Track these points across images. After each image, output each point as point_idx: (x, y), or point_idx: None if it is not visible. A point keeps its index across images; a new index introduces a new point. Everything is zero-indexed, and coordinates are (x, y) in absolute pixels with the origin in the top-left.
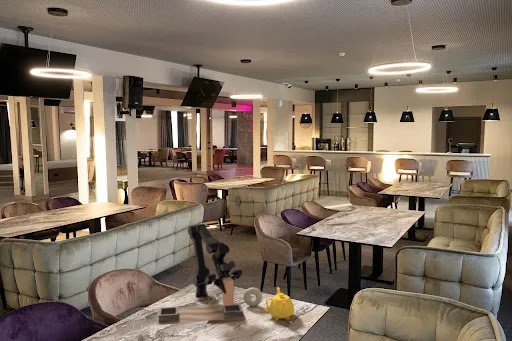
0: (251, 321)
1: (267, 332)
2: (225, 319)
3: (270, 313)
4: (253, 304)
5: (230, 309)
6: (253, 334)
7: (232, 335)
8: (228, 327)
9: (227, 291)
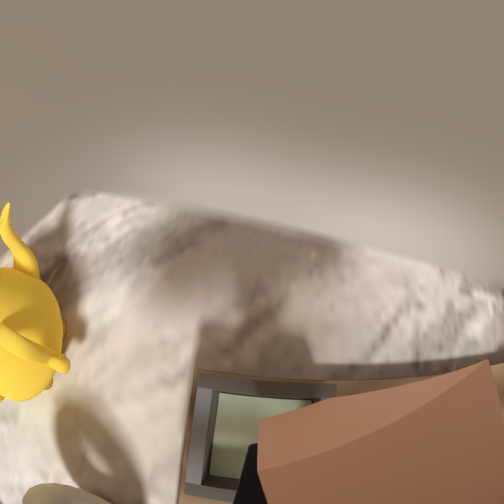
0: (167, 351)
1: (146, 229)
2: (320, 380)
3: (61, 328)
4: (102, 500)
5: None
6: (207, 226)
7: (300, 239)
8: (309, 318)
9: (367, 395)
